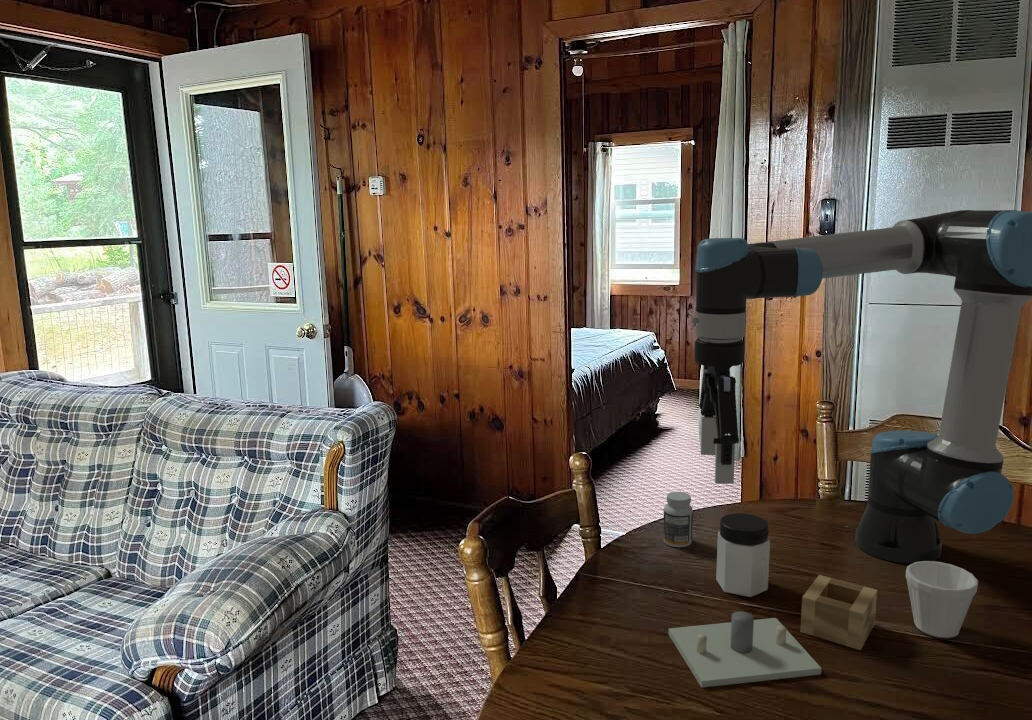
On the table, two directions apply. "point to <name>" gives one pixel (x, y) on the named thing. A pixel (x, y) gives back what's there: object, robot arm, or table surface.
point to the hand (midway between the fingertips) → (716, 468)
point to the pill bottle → (678, 520)
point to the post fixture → (742, 651)
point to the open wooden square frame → (839, 611)
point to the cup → (939, 597)
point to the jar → (743, 554)
